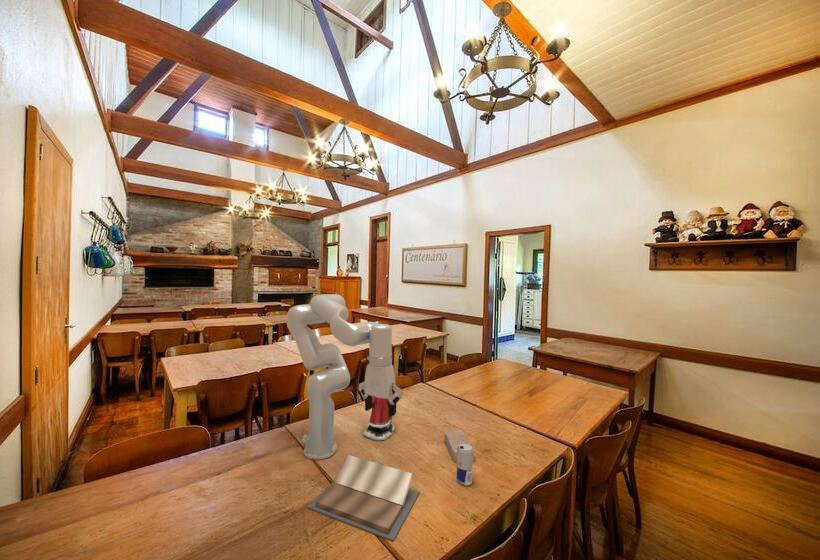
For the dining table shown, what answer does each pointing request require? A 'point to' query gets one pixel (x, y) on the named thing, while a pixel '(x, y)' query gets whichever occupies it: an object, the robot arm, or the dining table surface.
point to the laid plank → (360, 507)
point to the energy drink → (464, 464)
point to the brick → (455, 442)
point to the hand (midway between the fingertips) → (380, 412)
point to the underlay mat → (391, 536)
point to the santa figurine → (379, 420)
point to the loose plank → (375, 479)
